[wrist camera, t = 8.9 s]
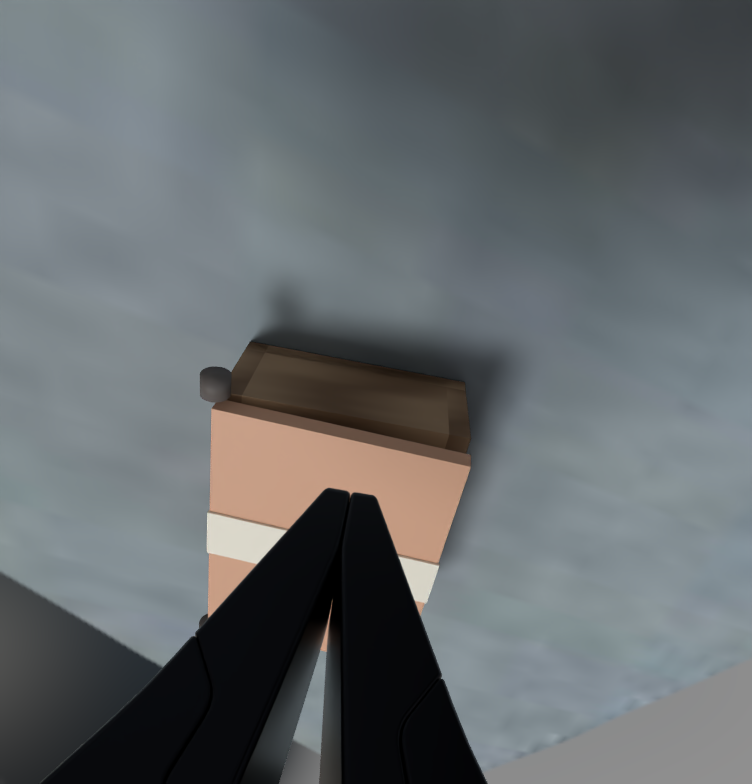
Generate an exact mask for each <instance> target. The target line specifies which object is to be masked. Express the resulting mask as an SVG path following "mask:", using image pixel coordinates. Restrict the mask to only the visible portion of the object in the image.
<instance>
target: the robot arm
mask: <svg viewBox="0 0 752 784" xmlns="http://www.w3.org/2000/svg"><path fill="white" fill-rule="evenodd" d="M331 605H332V607H331ZM330 611H331V613H330ZM329 616H330V620H329ZM328 620H329V627H328V639H327V655H326V672H325V690H324V707H323V725H322V742H321V760H320V778H319V784H487V781H486V779H485V777H484V775H483V773H482V771H481V768H480V766H479V764H478V762H477V760H476V758H475V756H474V753H473V751H472V749H471V747H470V745H469V743H468V740H467V738H466V735H465V733H464V730H463V728H462V725H461V723H460V720H459V718H458V715H457V713H456V710H455V708H454V705H453V703H452V700H451V697H450V695H449V692H448V689H447V686H446V684H445V681H444V680H443V679H441V677H442V673H441V671H440V668H439V665H438V663H437V660H436V657H435V654H434V652H433V649H432V646H431V644H430V641H429V638H428V635H427V633H426V630H425V627H424V625H423V622H422V619H421V616H420V614H419V611H418V608H417V606H416V603H415V600H414V597H413V595H412V592H411V589H410V586H409V584H408V581H407V578H406V576H405V573H404V570H403V567H402V565H401V562H400V559H399V557H398V554H397V551H396V548H395V546H394V543H393V540H392V538H391V535H390V532H389V529H388V527H387V524H386V521H385V518H384V516H383V513H382V510H381V508H380V505H379V502H378V500H377V498H376V497H375V496H374V495H369V494H363V493H358V492H354V493H352V494H351V496H350V493H349V492H348V491H346V490H340V489H334V488H326V489H325V490H323V491H322V493H321V494H320V495H319V496H318V497H317V498H316V499H315V500H314V501H313V503H312V504H311V505H310V506H309V507H308V508H307V509H306V510H305V511H304V513H303V514H302V515H301V516H300V517H299V518H298V519H297V520H296V521H295V523H294V524H293V525H292V526H291V527H290V528H289V529H288V530H287V531H286V533H285V534H284V535H283V536H282V537H281V538H280V539H279V540H278V541H277V542H276V544H275V545H274V546H273V547H272V548H271V549H270V550H269V551H268V552H267V554H266V555H265V556H264V557H263V558H262V559H261V560H260V561H259V562H258V564H257V565H256V566H255V567H254V568H253V569H252V570H251V571H250V572H249V574H248V575H247V576H246V577H245V578H244V579H243V580H242V581H241V582H240V584H239V585H238V586H237V587H236V588H235V589H234V590H233V591H232V592H231V594H230V595H229V596H228V597H227V598H226V599H225V600H224V601H223V602H222V604H221V605H220V606H219V607H218V608H217V609H216V610H215V611H214V612H213V614H212V615H211V616H210V617H209V618H208V619H207V620H206V621H205V622H204V624H203V625H202V626H201V627H200V628H199V629H198V630H197V631H196V633H195V637H194V636H192V637H191V638H190V639H189V640H188V641H187V642H186V643H185V644H184V645H183V646H182V648H181V649H180V650H179V651H178V652H177V653H176V654H175V655H174V656H173V658H172V659H171V660H170V661H169V662H168V663H167V664H166V665H165V666H164V667H163V668H162V669H161V670H160V671H159V672H158V673H157V674H156V675H155V676H154V677H153V679H152V680H151V681H150V682H149V683H148V684H147V685H146V686H145V687H144V688H143V689H142V690H141V691H140V692H139V693H138V694H136V696H134V697H133V698H132V699H131V700H130V701H129V702H128V703H127V704H126V705H125V706H124V707H123V708H122V709H121V710H120V711H118V712H117V713H116V714H115V715H114V716H113V717H112V718H111V719H110V720H109V721H108V722H107V723H106V724H105V725H103V726H102V727H101V728H100V729H99V730H98V731H97V732H96V733H95V734H93V735H92V736H91V737H90V738H89V739H88V740H87V741H86V742H85V743H83V744H82V745H81V746H80V747H79V748H78V749H77V750H76V751H74V753H72V754H71V755H70V756H69V757H68V758H67V759H66V760H65V761H63V762H62V763H61V764H60V765H59V766H58V767H57V768H56V769H55V770H54V771H52V772H51V773H50V774H49V775H48V776H47V777H46V778H45V779H43V780H42V781H41V782H40V783H39V784H279V782H280V778H281V775H282V772H283V769H284V765H285V762H286V759H287V756H288V752H289V749H290V746H291V743H292V740H293V736H294V733H295V730H296V727H297V723H298V720H299V717H300V714H301V711H302V707H303V704H304V701H305V698H306V694H307V691H308V688H309V685H310V681H311V678H312V675H313V672H314V669H315V665H316V662H317V659H318V656H319V652H320V649H321V646H322V643H323V639H324V636H325V632H326V629H327V625H328Z"/></svg>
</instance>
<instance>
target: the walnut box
mask: <svg viewBox="0 0 752 784" xmlns="http://www.w3.org/2000/svg"><path fill="white" fill-rule="evenodd" d="M200 396H201V398H202V399H204V400H206V401H209V402H223V401H226V400H228V401H233V402H237V403H242V404H246V405H250V406H255V407H259V408H264V409H268V410H273V411H277V412H282V413H286V414H291V415H295V416H300V417H304V418H309V419H313V420H317V421H322V422H326V423H331V424H335V425H340V426H344V427H349V428H353V429H358V430H362V431H367V432H371V433H375V434H380V435H384V436H389V437H393V438H398V439H402V440H407V441H411V442H416V443H420V444H425V445H429V446H434V447H438V448H442V449H447V450H451V451H456V452H460V453H465V454H466V452H467V449H468V446H469V443H470V440H471V434H470V425H469V416H468V407H467V398H466V389H465V382H461V381H455V380H450V379H445V378H440V377H434V376H429V375H424V374H418V373H413V372H408V371H403V370H397V369H392V368H387V367H382V366H376V365H371V364H366V363H361V362H355V361H350V360H345V359H340V358H334V357H329V356H324V355H319V354H313V353H308V352H303V351H298V350H292V349H287V348H282V347H277V346H271V345H266V344H261V343H256V342H250V343H249V344H248V346H247V348H246V349H245V351H244V352H243V354H242V356H241V357H240V359H239V361H238V362H237V364H236V365H235V367H234V369H233V370H232V372H230V371H229V370H227V369H225V368H222V367H208V368H205V369H203V370H202V371H201V372H200ZM207 619H208V614H206V615H204V616H203V617H202V618H201V619H200V622H199V628H200V627H201V626H202V625H203V624H204V622H205V621H206V620H207Z"/></svg>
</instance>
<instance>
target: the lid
mask: <svg viewBox="0 0 752 784" xmlns="http://www.w3.org/2000/svg"><path fill="white" fill-rule="evenodd" d="M470 468H471V455H469V454H465V453H460V452H456V451H451V450H447V449H442V448H438V447H434V446H429V445H425V444H420V443H416V442H411V441H407V440H402V439H398V438H393V437H389V436H384V435H380V434H375V433H371V432H367V431H362V430H358V429H353V428H349V427H344V426H340V425H335V424H331V423H326V422H322V421H317V420H313V419H309V418H304V417H300V416H295V415H291V414H286V413H282V412H277V411H273V410H268V409H264V408H259V407H255V406H250V405H246V404H242V403H237V402H233V401H228V400H226V401H223V402H216V403H215V405H214V406H213V407H212V411H211V471H210V511H208V512H207V553H209V591H208V618H209V617H210V616H211V615H212V614H213V612H214V611H215V610H216V609H217V608H218V607H219V606H220V605H221V604H222V602H223V601H224V600H225V599H226V598H227V597H228V596H229V595H230V594H231V592H232V591H233V590H234V589H235V588H236V587H237V586H238V585H239V584H240V582H241V581H242V580H243V579H244V578H245V577H246V576H247V575H248V574H249V572H250V571H251V570H252V569H253V568H254V567H255V566H256V565H257V564H258V562H259V561H260V560H261V559H262V558H263V557H264V556H265V555H266V554H267V552H268V551H269V550H270V549H271V548H272V547H273V546H274V545H275V544H276V542H277V541H278V540H279V539H280V538H281V537H282V536H283V535H284V534H285V533H286V531H287V530H288V529H289V528H290V527H291V526H292V525H293V524H294V523H295V521H296V520H297V519H298V518H299V517H300V516H301V515H302V514H303V513H304V511H305V510H306V509H307V508H308V507H309V506H310V505H311V504H312V503H313V501H314V500H315V499H316V498H317V497H318V496H319V495H320V494H321V493H322V491H323V490H325V489H326V488H334V489H340V490H346V491H348V492H349V493H350V496H351V494H352V493H354V492H358V493H363V494H369V495H374V496H375V497H376V498H377V500H378V502H379V505H380V508H381V510H382V513H383V516H384V518H385V521H386V524H387V527H388V529H389V532H390V535H391V538H392V540H393V543H394V546H395V548H396V551H397V554H398V557H399V559H400V562H401V565H402V567H403V570H404V573H405V576H406V578H407V581H408V584H409V586H410V589H411V592H412V595H413V597H414V600H415V603H416V606H417V608H418V611H419V614H420V615H421V612H422V609H423V606H424V603H427V600H428V597H429V595H430V592H431V589H432V586H433V583H434V580H435V577H436V574H437V571H438V568H439V563H438V562H439V559H440V556H441V553H442V550H443V547H444V544H445V542H446V539H447V536H448V533H449V530H450V527H451V524H452V521H453V518H454V515H455V512H456V509H457V506H458V503H459V500H460V498H461V495H462V492H463V489H464V486H465V483H466V480H467V477H468V474H469V471H470ZM331 607H332V605H331ZM330 613H331V611H330ZM329 620H330V616H329ZM329 620H328V625H327V629H326V632H325V636H324V639H323V643H322V646H321V649H320V650H322V651H326V652H327V639H328V627H329Z"/></svg>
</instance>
